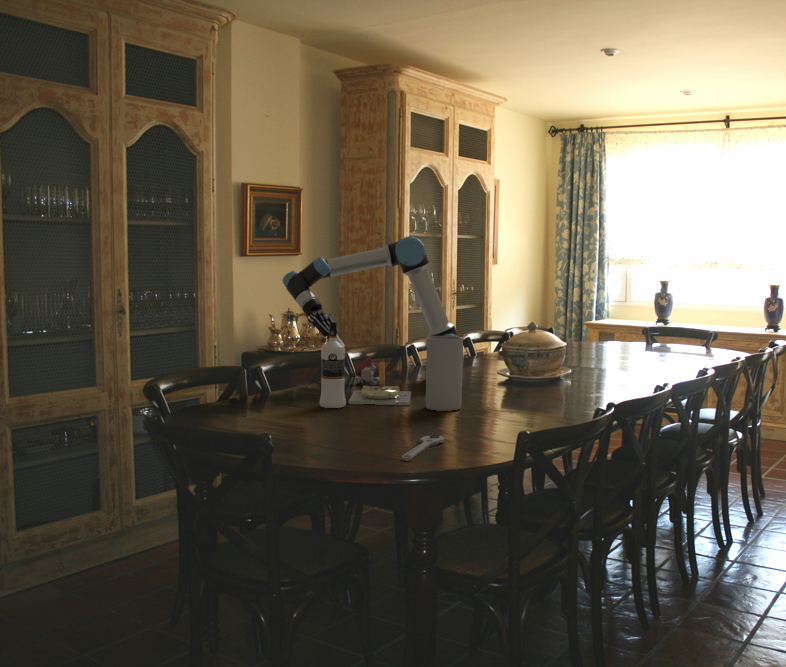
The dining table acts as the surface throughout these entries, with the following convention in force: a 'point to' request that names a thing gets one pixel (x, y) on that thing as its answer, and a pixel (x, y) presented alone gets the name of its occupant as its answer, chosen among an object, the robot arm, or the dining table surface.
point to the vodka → (332, 371)
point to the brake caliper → (367, 373)
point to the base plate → (359, 399)
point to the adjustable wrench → (422, 446)
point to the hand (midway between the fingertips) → (342, 348)
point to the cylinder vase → (444, 373)
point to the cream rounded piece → (381, 388)
